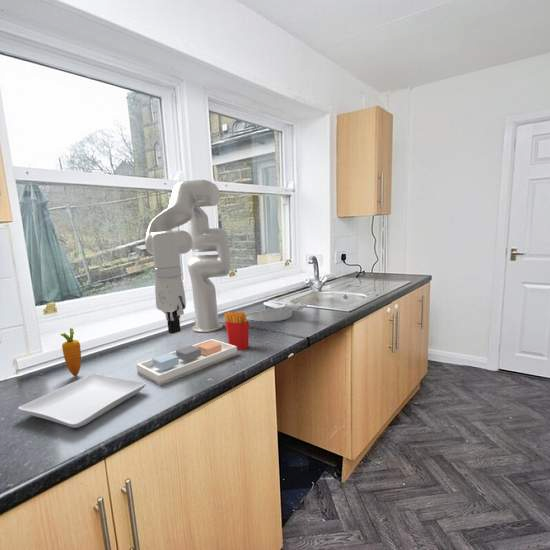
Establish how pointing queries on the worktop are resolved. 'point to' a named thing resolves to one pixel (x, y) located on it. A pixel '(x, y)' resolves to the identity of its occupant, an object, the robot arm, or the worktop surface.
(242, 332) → the french fries
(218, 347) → the terracotta key
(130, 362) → the worktop surface
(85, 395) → the salad plate
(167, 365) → the dusty blue key
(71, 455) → the worktop surface
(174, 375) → the white rectangular tray
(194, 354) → the charcoal key
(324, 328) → the worktop surface
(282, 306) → the frying pan
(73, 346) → the carrot
